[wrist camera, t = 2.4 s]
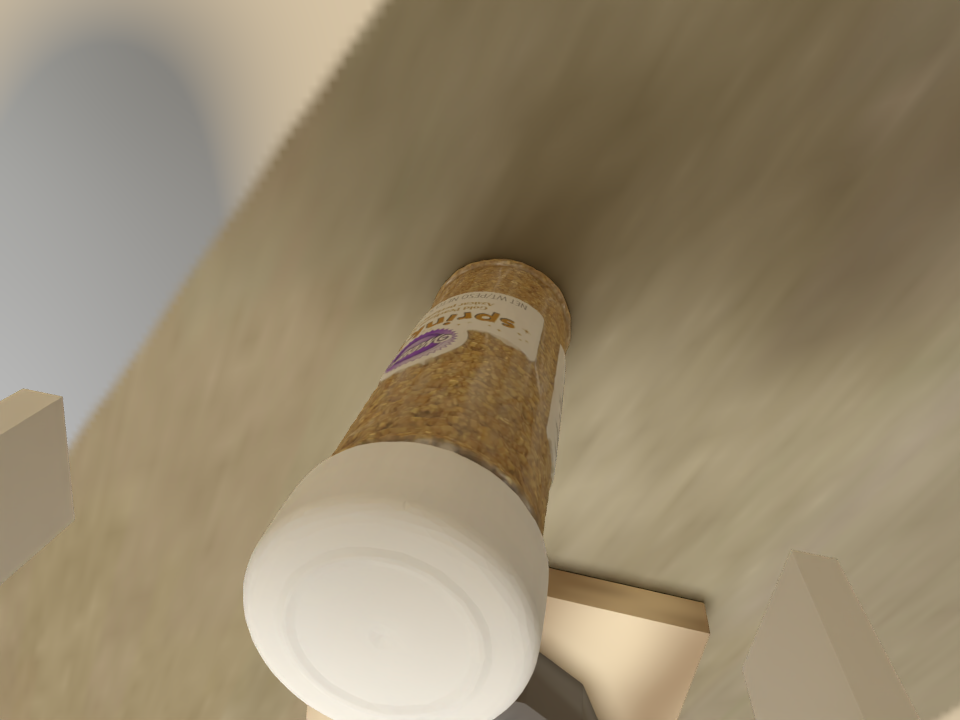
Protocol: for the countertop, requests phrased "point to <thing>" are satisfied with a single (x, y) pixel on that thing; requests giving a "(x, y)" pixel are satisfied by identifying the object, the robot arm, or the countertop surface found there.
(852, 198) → the countertop surface
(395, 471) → the sprinkles bottle
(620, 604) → the mount plate
